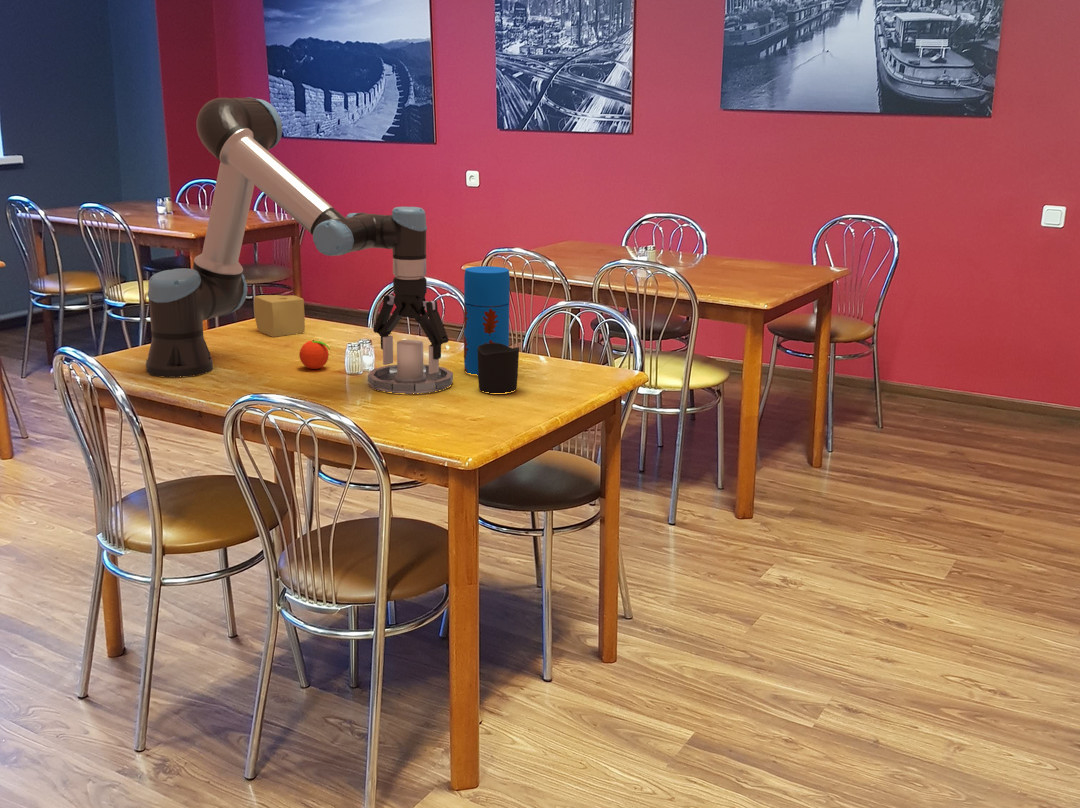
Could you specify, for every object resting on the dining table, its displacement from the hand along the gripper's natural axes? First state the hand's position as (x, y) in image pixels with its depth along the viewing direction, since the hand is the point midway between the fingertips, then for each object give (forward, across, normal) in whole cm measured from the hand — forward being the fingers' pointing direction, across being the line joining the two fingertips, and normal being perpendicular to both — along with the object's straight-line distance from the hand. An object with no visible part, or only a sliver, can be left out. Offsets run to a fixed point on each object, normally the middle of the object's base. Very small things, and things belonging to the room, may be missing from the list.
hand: (410, 368), depth 254 cm
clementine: (+4, +27, +3) cm, 27 cm away
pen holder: (+4, -19, -8) cm, 21 cm away
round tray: (+4, 0, 0) cm, 4 cm away
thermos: (+4, -7, -20) cm, 22 cm away
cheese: (+4, +64, -21) cm, 67 cm away
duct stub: (+3, 0, 0) cm, 3 cm away
